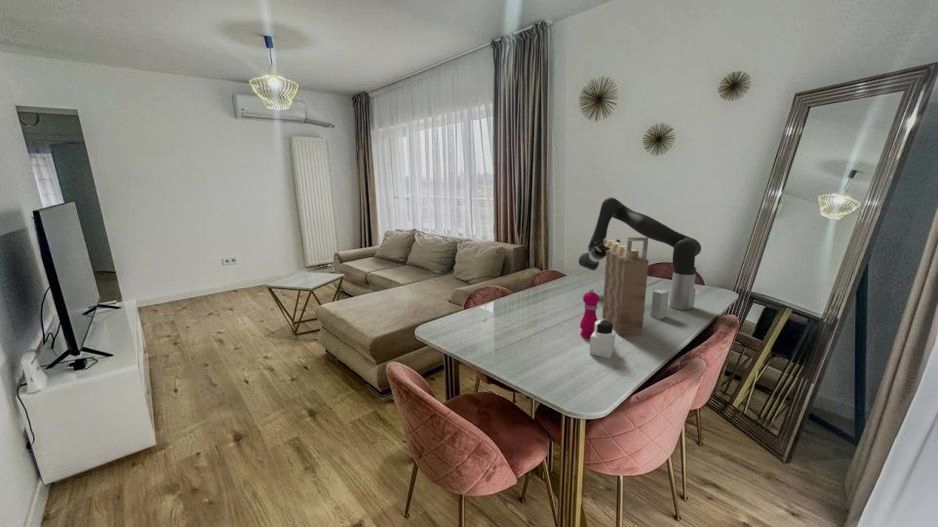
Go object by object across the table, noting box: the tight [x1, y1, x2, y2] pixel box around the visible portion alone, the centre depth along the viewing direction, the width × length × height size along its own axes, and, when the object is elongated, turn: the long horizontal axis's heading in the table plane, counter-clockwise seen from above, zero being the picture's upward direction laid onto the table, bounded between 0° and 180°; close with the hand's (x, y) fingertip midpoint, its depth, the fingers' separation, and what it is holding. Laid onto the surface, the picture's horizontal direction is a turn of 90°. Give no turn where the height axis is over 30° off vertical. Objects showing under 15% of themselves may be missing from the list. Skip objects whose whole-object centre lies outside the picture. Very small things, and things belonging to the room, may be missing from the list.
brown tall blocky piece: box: [601, 236, 650, 337], centre depth 149 cm, size 20×9×40 cm, turn 179°
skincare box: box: [650, 288, 670, 320], centre depth 161 cm, size 6×4×12 cm
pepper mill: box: [579, 288, 600, 340], centre depth 142 cm, size 7×7×20 cm
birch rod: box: [603, 238, 639, 259], centre depth 154 cm, size 30×3×3 cm, turn 179°
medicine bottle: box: [589, 319, 616, 359], centre depth 130 cm, size 7×7×12 cm
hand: (609, 241), depth 166 cm, fingers open, 8 cm apart
